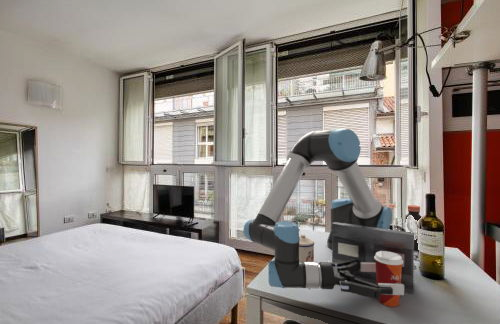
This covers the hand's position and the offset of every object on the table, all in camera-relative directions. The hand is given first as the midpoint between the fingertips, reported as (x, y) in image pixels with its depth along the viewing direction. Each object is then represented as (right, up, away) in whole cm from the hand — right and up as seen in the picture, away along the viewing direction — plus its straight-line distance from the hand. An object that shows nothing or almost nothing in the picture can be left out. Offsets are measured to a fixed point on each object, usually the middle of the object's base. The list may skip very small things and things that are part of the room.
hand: (391, 277), depth 75 cm
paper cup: (-1, -8, +1) cm, 8 cm away
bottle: (+35, -7, +44) cm, 57 cm away
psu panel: (+1, -7, +15) cm, 17 cm away
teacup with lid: (-20, -7, +29) cm, 36 cm away
